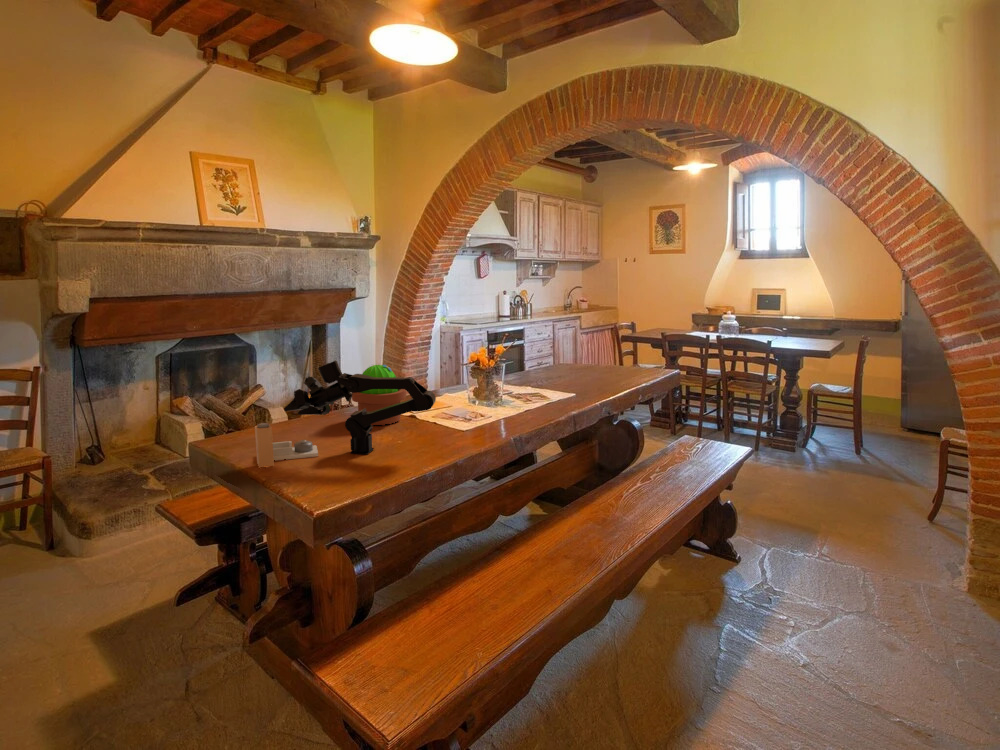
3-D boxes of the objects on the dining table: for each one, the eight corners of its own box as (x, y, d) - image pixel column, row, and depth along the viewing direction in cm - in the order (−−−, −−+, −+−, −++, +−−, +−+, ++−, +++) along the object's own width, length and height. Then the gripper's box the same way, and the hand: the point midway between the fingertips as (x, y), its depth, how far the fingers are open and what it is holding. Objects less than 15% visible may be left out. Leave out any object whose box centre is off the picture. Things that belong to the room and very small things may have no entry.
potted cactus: (343, 425, 241) (341, 366, 237) (367, 413, 262) (365, 358, 258) (393, 429, 236) (391, 368, 232) (413, 416, 257) (412, 360, 253)
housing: (316, 448, 210) (315, 435, 209) (318, 456, 200) (317, 443, 200) (262, 453, 203) (261, 440, 203) (261, 461, 194) (260, 448, 193)
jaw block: (271, 462, 194) (269, 422, 191) (274, 466, 190) (271, 425, 187) (257, 464, 191) (254, 423, 189) (259, 468, 187) (256, 426, 185)
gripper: (336, 378, 214) (299, 395, 215) (311, 367, 196) (270, 386, 197) (345, 406, 211) (307, 423, 212) (320, 397, 193) (279, 416, 195)
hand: (291, 411), depth 204 cm, fingers open, 9 cm apart
